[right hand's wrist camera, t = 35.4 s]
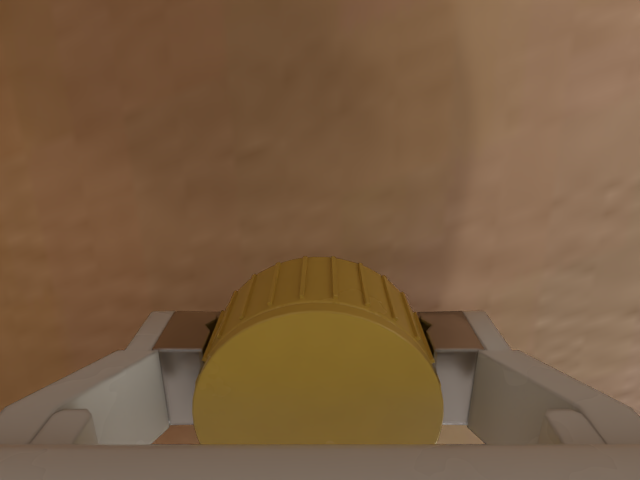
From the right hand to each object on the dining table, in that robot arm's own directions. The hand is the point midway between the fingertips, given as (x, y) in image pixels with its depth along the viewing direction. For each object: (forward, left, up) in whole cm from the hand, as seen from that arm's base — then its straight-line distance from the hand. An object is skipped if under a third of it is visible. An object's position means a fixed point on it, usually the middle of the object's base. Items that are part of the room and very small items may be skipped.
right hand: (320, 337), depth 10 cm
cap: (0, 0, +2) cm, 2 cm away
